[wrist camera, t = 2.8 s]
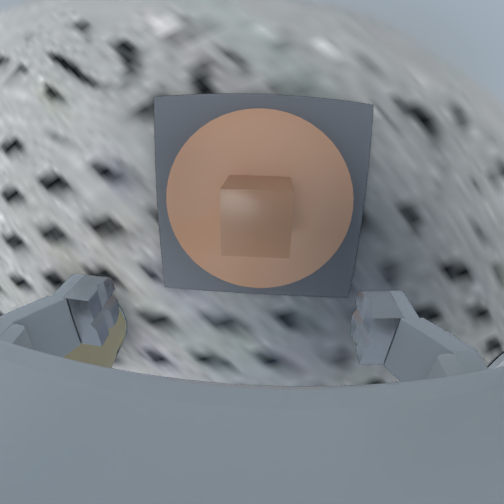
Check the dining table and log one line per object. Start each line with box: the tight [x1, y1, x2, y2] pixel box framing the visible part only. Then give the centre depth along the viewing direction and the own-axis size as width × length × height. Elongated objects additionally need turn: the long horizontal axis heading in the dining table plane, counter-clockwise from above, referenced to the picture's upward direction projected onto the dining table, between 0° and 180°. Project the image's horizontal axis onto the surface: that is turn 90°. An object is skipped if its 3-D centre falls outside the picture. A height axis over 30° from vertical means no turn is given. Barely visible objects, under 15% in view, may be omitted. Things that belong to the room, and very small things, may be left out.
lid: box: [166, 108, 354, 288], centre depth 20 cm, size 13×13×5 cm
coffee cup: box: [63, 306, 127, 368], centre depth 23 cm, size 9×9×12 cm
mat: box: [154, 94, 373, 298], centre depth 22 cm, size 15×15×1 cm
